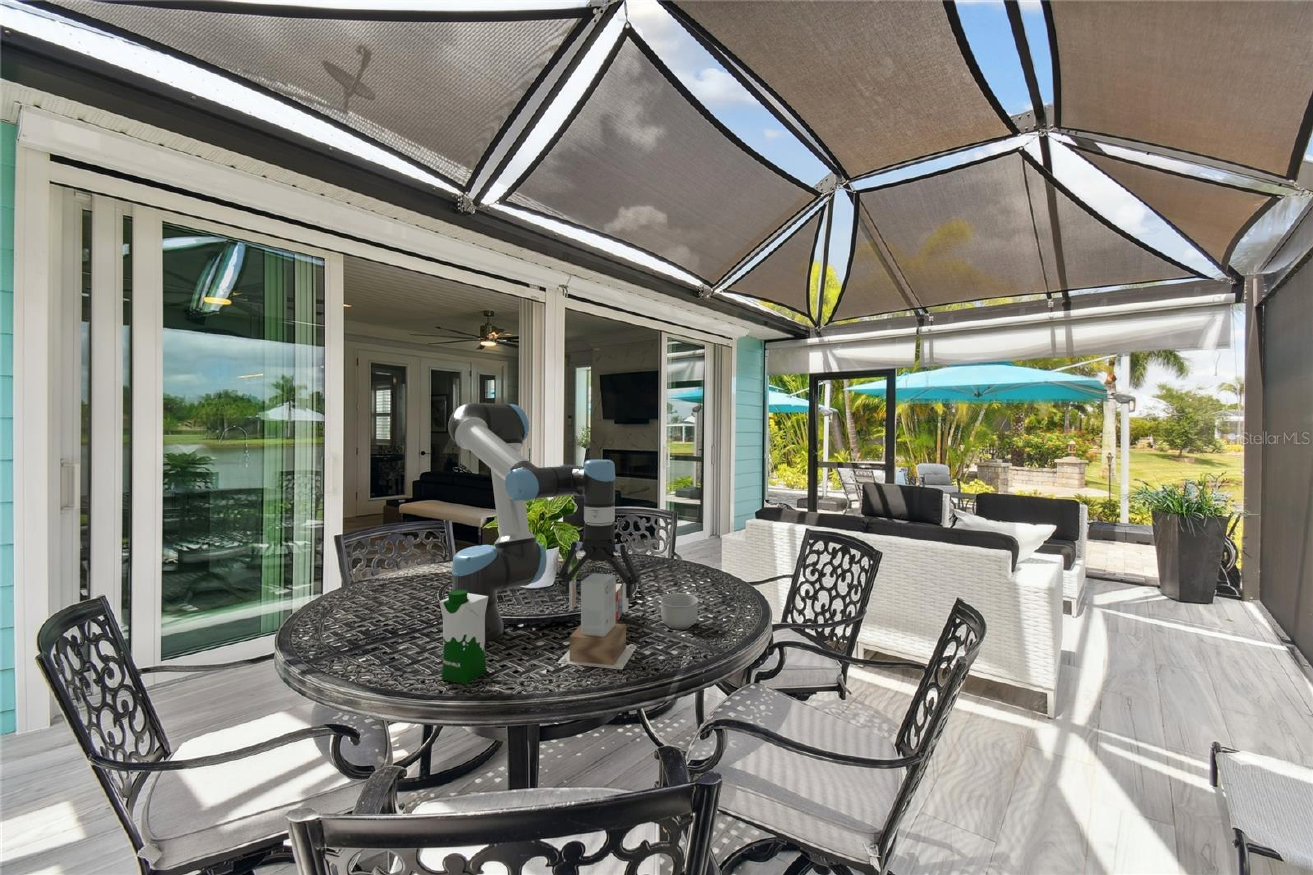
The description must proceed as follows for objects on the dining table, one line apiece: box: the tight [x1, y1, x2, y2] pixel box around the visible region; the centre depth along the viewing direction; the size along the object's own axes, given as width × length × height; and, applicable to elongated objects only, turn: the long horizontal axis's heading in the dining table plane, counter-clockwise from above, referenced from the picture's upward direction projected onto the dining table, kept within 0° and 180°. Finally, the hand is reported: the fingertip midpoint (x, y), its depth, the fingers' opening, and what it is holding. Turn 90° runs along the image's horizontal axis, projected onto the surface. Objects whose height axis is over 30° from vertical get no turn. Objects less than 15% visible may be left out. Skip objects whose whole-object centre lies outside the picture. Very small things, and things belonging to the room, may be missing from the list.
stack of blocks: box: [615, 581, 623, 624], centre depth 168 cm, size 21×6×12 cm, turn 171°
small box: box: [580, 572, 616, 637], centre depth 144 cm, size 8×6×13 cm
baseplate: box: [557, 643, 638, 670], centre depth 144 cm, size 16×14×2 cm
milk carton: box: [439, 590, 489, 685], centre depth 134 cm, size 9×9×20 cm
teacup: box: [652, 592, 699, 631], centre depth 168 cm, size 14×11×8 cm
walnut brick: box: [569, 622, 627, 665], centre depth 144 cm, size 11×11×6 cm
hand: (598, 608), depth 144 cm, fingers open, 13 cm apart
